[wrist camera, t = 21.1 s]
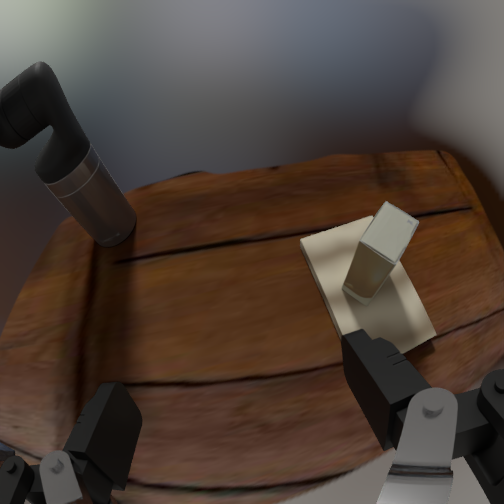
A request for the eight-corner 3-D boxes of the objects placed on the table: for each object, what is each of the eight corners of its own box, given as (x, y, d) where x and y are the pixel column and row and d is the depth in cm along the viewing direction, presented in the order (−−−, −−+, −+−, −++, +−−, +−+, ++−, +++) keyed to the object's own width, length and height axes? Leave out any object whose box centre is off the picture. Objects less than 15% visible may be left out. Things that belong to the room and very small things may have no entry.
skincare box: (363, 255, 37) (386, 197, 27) (389, 272, 36) (421, 219, 25) (338, 290, 36) (357, 239, 25) (365, 309, 34) (396, 264, 23)
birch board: (299, 246, 42) (300, 239, 40) (369, 223, 42) (372, 215, 41) (355, 376, 32) (358, 375, 30) (430, 338, 32) (436, 334, 30)
